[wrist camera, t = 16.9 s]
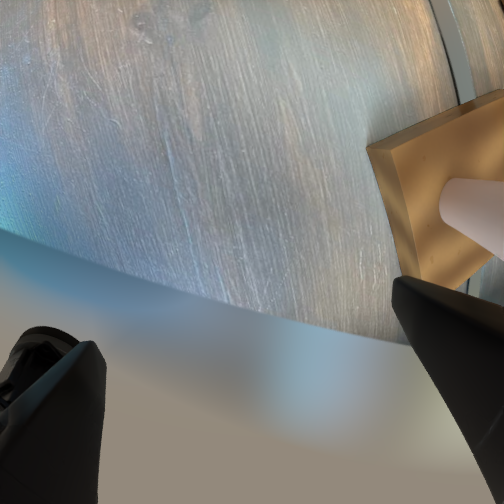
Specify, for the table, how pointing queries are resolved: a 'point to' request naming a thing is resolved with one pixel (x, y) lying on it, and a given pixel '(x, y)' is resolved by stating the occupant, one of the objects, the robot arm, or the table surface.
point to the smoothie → (475, 211)
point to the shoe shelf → (439, 185)
